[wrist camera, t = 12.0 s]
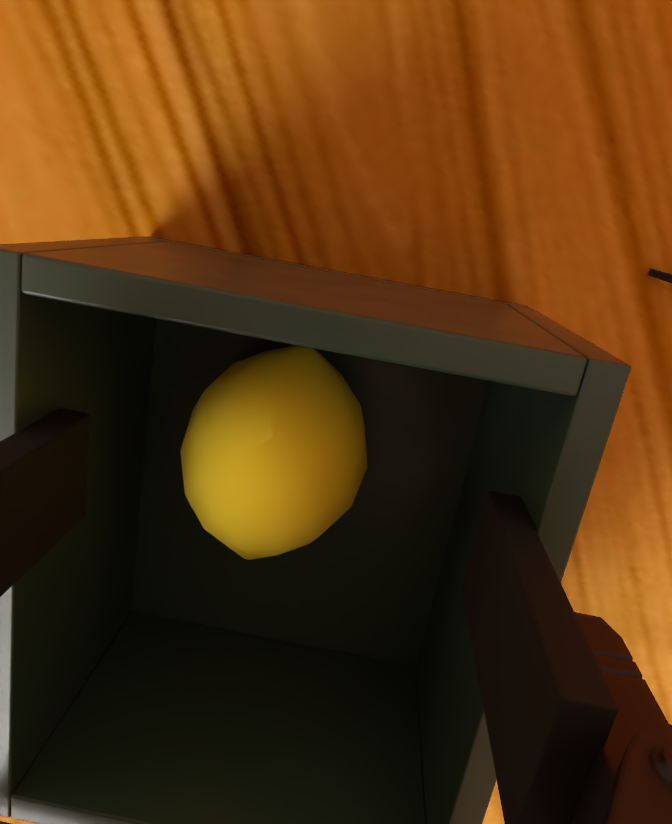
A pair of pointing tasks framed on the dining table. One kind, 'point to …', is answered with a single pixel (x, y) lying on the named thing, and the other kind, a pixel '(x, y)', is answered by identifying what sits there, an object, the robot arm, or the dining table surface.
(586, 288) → the dining table surface
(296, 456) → the lemon
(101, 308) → the chest
